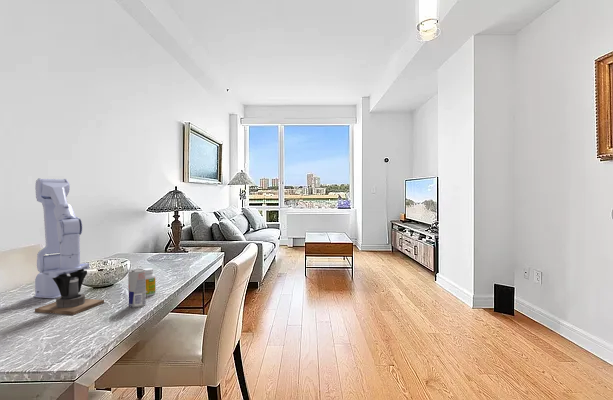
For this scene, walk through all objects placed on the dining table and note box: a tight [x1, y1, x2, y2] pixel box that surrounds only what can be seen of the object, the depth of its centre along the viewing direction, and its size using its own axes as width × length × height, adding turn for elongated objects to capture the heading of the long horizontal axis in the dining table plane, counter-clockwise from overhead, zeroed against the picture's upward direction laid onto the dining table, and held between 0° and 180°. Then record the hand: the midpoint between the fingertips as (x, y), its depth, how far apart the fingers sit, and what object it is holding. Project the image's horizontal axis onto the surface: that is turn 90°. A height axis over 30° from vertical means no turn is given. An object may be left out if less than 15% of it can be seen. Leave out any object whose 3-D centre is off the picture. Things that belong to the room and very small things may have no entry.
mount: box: [34, 293, 105, 316], centre depth 125 cm, size 15×13×4 cm
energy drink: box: [127, 268, 147, 309], centre depth 127 cm, size 5×5×12 cm
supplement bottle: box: [142, 267, 156, 297], centre depth 140 cm, size 5×5×10 cm
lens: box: [63, 276, 80, 300], centre depth 125 cm, size 4×4×8 cm
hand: (70, 294), depth 125 cm, fingers closed on lens, 4 cm apart
